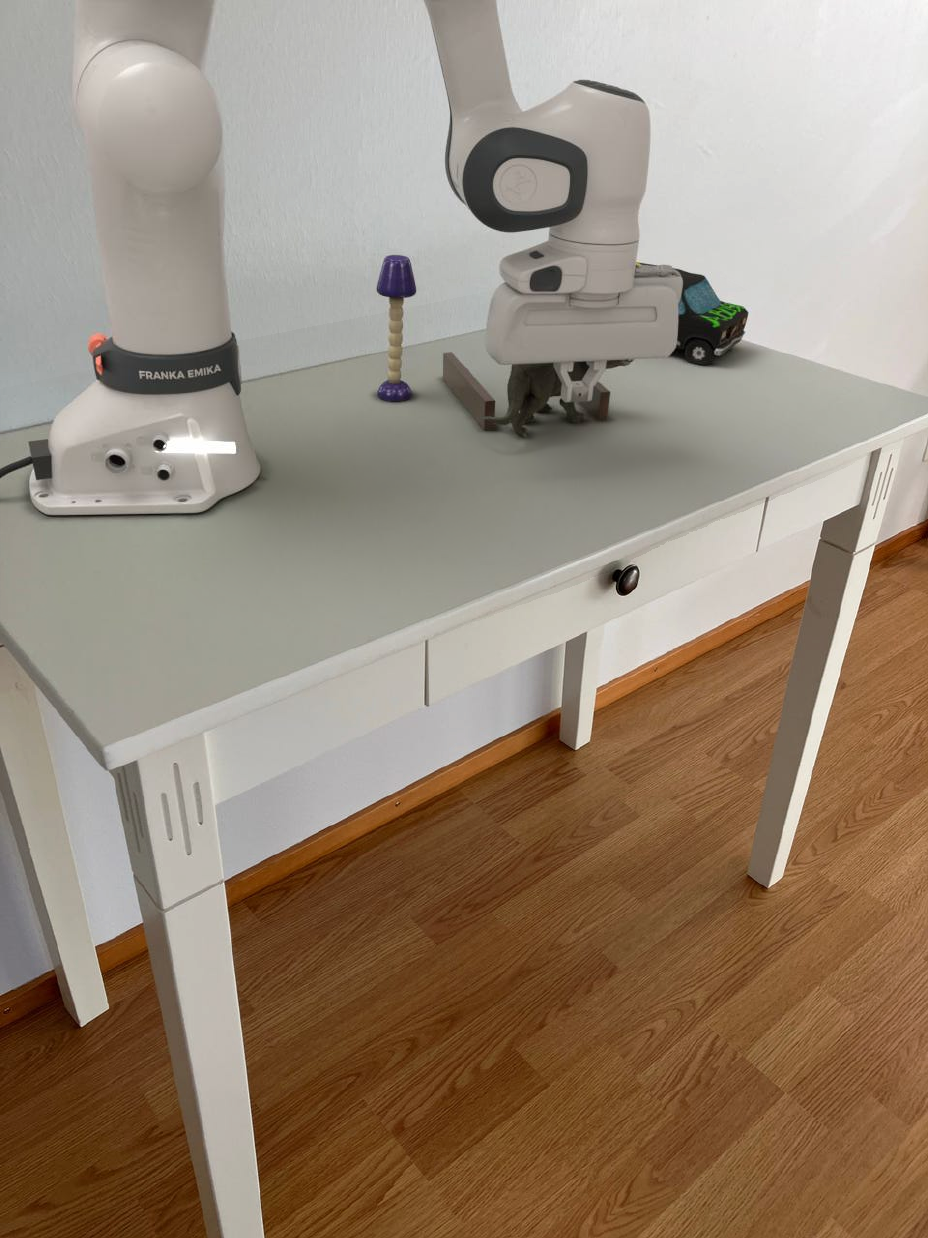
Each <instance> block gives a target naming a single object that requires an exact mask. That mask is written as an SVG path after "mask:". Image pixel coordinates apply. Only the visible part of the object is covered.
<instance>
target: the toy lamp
mask: <svg viewBox="0 0 928 1238" xmlns="http://www.w3.org/2000/svg"><path fill="white" fill-rule="evenodd" d="M415 280H416V279H415V275H414V271H413V267H412V262H411V259H410V258H409V257H408V256H406V255H401V254H389V255H387V256H385V257H384V259H383V262H382V265H381V269H380V273H379V276H378V279H377V283H376V293H377V294H378V295H379V296H382V297H386V298H388V302H389V305H390V307H389V310H388V316H389V321H388V329H389V334H388V343H389V346H388V347H387V353H388V360H387V367H388V371H387V380H385V381H383V382H382V383H380V385H379V387H378V389H377V396H378V398H379V399H381V400H383V401H386V402H387V401H388V402H403V401H407V400H410V399H411V398H412V397H413V393H412V390H411V387H410V385H409V384H408V383H407V382H406V381H403V380H402V371H401V369H402V365H403V359H402V356H403V346H402V344H403V340H404V335H403V333H402V332H403V329H404V322H403V317H404V307H403V306H404V301H405V299H407V298H411V297H414V296H415V295H416V294H417V285H416V281H415Z"/></svg>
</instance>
